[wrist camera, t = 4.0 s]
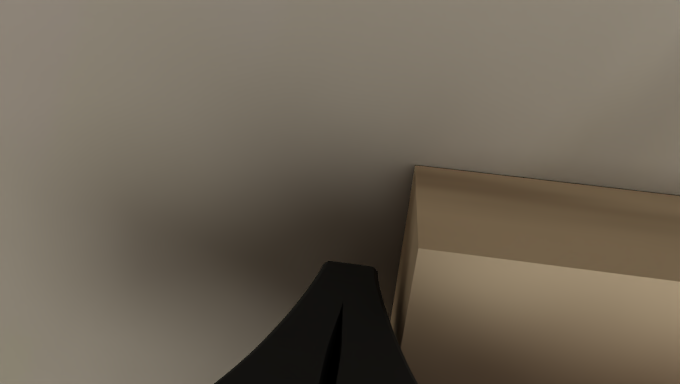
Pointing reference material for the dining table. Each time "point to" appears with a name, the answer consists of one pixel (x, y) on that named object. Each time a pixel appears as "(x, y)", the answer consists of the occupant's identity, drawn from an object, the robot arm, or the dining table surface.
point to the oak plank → (537, 282)
